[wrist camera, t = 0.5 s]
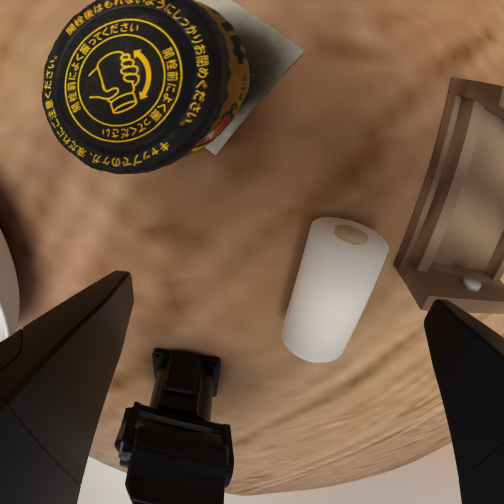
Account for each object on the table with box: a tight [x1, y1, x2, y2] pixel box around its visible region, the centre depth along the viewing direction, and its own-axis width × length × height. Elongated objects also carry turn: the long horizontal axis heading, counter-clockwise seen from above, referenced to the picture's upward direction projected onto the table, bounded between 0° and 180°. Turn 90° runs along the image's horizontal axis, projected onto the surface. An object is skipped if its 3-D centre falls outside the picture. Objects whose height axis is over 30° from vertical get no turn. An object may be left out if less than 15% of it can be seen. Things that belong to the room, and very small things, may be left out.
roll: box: [281, 217, 389, 363], centre depth 21 cm, size 9×5×5 cm, turn 171°
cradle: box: [394, 78, 504, 314], centre depth 17 cm, size 15×11×6 cm
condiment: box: [42, 0, 304, 174], centre depth 11 cm, size 7×8×12 cm
